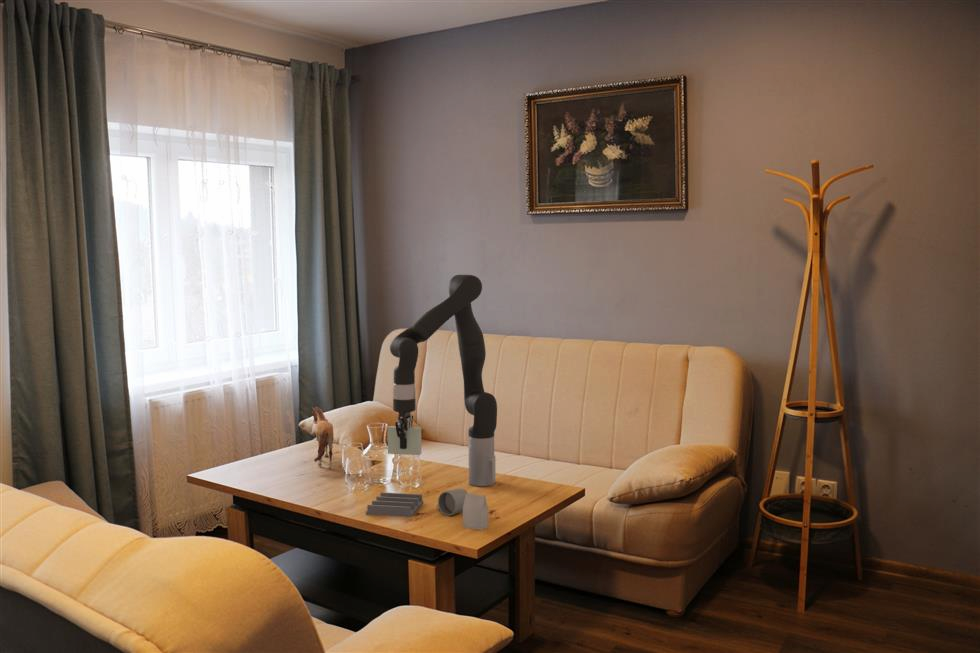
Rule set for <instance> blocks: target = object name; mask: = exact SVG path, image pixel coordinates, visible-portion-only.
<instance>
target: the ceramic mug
mask: <svg viewBox="0 0 980 653" xmlns="http://www.w3.org/2000/svg"><path fill="white" fill-rule="evenodd" d="M466 493H468V491H467V490H465V489H464V488H454V489H450V490H445V491H443V492H441V493H440V494H439V496H438V498H437V504H436V509H437V510H440V512H441V514H443V515H444V516H448V517H449V516H452V515H457V514H458V513H463V505H464V501H465V496H466Z"/></svg>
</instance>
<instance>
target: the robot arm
mask: <svg viewBox="0 0 980 653" xmlns="http://www.w3.org/2000/svg"><path fill="white" fill-rule="evenodd" d="M482 292H483V284H482V281H481V279H480V278H479V277H478V276H475V275H474V274H473V275H472V274H455V275H453V277H451V278H450V280H449V283H448V294H449V296H448V297H447V298H446V299H445V300H444V301H442V302H440V303H439V304H437V305H436V306H434V307H431V309H428V311H426V312H425V313H424V314H422V316H420V317H419V318H418V319H417V320H416V321H415V322H414V323H413V324H412V325H411V326H410V327H408V328H406V329H404V330H403V331H402V332H400V333H399V334H398V335H396V336H395V337H394V338H393V339H392V340H391V343H390V345H389V350H390V354H391V355H392V356H394V357H396V358H399V360H398V365H397V366H395V367H394V368H393V388H392V410H393V412H396V413H398V416H397V417H396V418H397V420H396V421H395V423H394V426H396V431H397V437H399V438H400V449H406V448H407V431H408V428H409V427H413V423H414V422H413V421H414V416H413V415H412V414H411V413H413V412H415V411H416V409H417V406H416V404H417V403H416V384H415V383H416V382H415V381H416V379H415V378H416V377H415V370H416V367H417V362H418V359H419V346H418V344H420V343H423V342H426V341H427V340H429V339H430V338H431V337H432V336H433V335H434V334H435V333H436V332H438V330H439V329H440V328H441V327H442V326H443V325H444V324H446V322H447V321H449V320H450V319H451V318H452V317H453V316H454V320H455V321H454V322H455V328H456V329H455V330H456V334H457V342H458V352H459V356H460V357H459V359H460V363H461V369H462V376H463V377H462V378H463V396H464V397H463V400H464V406H465V410H466V411H467V413H468V414H470V415H472V416H473V423H472V424H473V425H471V426H470V427H469V428H468V484H469V485H470V486H474V487H488V486H489V487H490V486H494V484H495V483H496V479H497V478H496V476H497V475H496V455H495V431H496V430H497V425H498V424H497V421H498V402H497V398H496V397H495V396H494V395H493V394H491V393H489V392H486V391H485V388H484V384H483V368H484V365H485V361H486V355H487V354H486V344H485V338H484V335H483V334H484V333H483V331H482V329H481V327H480V325H479V323H478V321H477V320H476V317H475V314H474V313H473V307H472V302H474V301H476V299H479V296H480V295H481V294H482ZM401 432H402V433H403V434H402V433H401Z"/></svg>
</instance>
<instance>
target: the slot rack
mask: <svg viewBox="0 0 980 653" xmlns="http://www.w3.org/2000/svg"><path fill="white" fill-rule="evenodd" d="M375 499H376V500H371V504H367V510H366V511H365V515H367V514H369V515H371V516H385V515H389V516H388V517H391V516H392V517H406V518H408V517H409V518H412V517H413V516H415V514H416V512H418V510H419V509H420V508H421V507H422V506H423V505H424V500H423V494H419V493H405V492H403V493H402V492H401V493H400V492H399V493H398V492H382V491H381V492H380V496H375ZM369 515H368V516H369Z"/></svg>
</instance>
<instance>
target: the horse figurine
mask: <svg viewBox="0 0 980 653" xmlns="http://www.w3.org/2000/svg"><path fill="white" fill-rule="evenodd" d="M311 409H312V410H313V411H312V413H311V414H312V416H313V421H312V422H313V423H314V424H315V428H314V429H315V431H314V432H315V435H316V441H317V444H318V449H317V457H316V458H314V459H313V460H314V463H317V462H318V463H317V466H318V467H321V466H322V465H323V463H322V458H323V457H329V462H328V466H327V468H328V469H332V468H333V465H332V464H333V462H332V460H333V459H332V457H333V446H334V445H333V443H334V440H335V439H334V426H333V424H332V422H329V420H328V419H327V418H326V416H325V414H324V412H323V410H322V408H320V407H318V406H315V407H314V406H311ZM328 449H329V450H328Z"/></svg>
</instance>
